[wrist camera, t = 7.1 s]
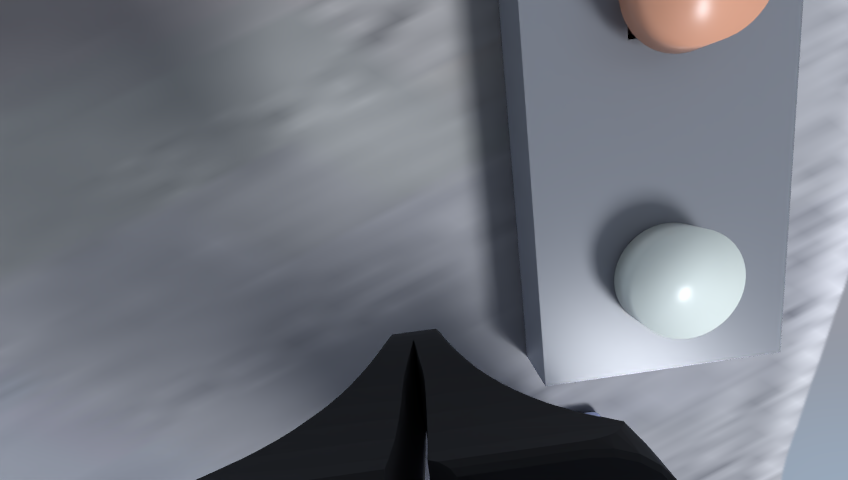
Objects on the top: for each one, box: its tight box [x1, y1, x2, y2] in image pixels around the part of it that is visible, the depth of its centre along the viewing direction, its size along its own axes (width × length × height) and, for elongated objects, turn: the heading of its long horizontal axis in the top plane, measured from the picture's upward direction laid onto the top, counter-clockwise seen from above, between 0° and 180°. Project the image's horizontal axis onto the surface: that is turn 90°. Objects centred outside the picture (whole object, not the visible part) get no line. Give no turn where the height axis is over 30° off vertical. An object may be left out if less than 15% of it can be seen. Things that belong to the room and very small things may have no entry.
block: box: [498, 0, 803, 386], centre depth 19 cm, size 22×12×3 cm, turn 7°
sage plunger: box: [614, 223, 746, 339], centre depth 19 cm, size 5×5×4 cm
